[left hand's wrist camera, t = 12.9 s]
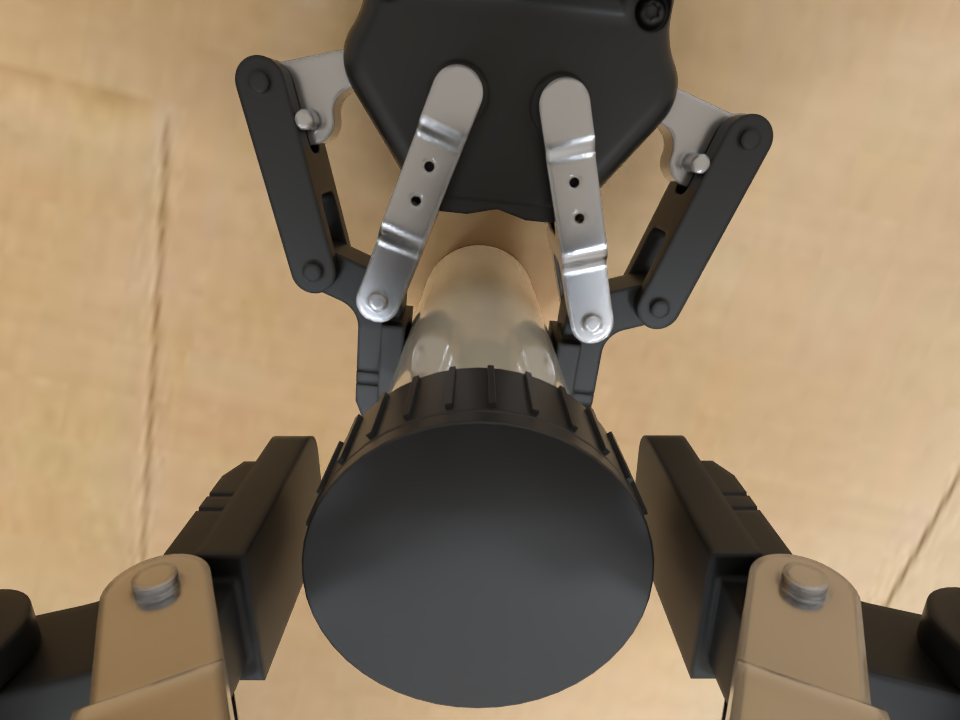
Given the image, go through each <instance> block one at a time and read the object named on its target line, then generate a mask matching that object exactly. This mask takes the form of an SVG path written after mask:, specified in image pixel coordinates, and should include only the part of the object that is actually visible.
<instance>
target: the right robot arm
mask: <svg viewBox="0 0 960 720" xmlns="http://www.w3.org/2000/svg"><path fill="white" fill-rule="evenodd" d="M673 3H674V0H364V1H363V4H362V7H361V10H360V12H359V15H358V17H357V19H356V21H355V23H354V24H353V26H352V27H351V29H350V31H349V33H348V35H347V38H346V41H345V45H344V49H343V50H338V51H333V52H328V53H323V54H318V55H313V56H309V57H304V58H299V59H294V60H289V61H284V62H279V61H276V60H273V59H270V58H267V57H265V56H261V55H253V56H249V57H247V58H245V59H244V60H243V61H242V62H241V63H240V64H239V66H238V68H237V70H236V74H235V83H236V88H237V91H238V94H239V98H240V101H241V105H242V108H243V111H244V115H245V118H246V122H247V125H248V128H249V132H250V135H251V138H252V142H253V145H254V149H255V152H256V155H257V159H258V162H259V166H260V169H261V172H262V176H263V179H264V183H265V186H266V189H267V193H268V196H269V200H270V203H271V206H272V210H273V213H274V217H275V220H276V223H277V227H278V230H279V233H280V237H281V240H282V244H283V247H284V250H285V254H286V257H287V261H288V264H289V267H290V271H291V274H292V277H293V280H294V281H295V283H296V284H297V285H298V286H299V287H300V288H301V289H303V290H304V291H307V292H310V293H321V292H323V293H325V294H328V295H330V296H332V297H334V298H336V299H338V300H341V301H343V302H344V303H346V304H347V305H348V306H349V307H350V308H351V309H352V310H353V311H354V313H355V315H356V317H357V320H358V352H357V379H356V381H357V383H356V402H357V405H358V408H359V410H360V413H361V415H362V416H363V415H364V414H365V413H366V412H367V411H368V410H369V409H370V408H371V407H372V406H373V405H374V404H376V403H377V402H378V401H379V398H380V396H381V394H382V393H384V392H387V393H388V391H389V388H390V385H391V382H392V379H393V376H394V373H395V371H396V368H397V365H398V362H399V359H400V356H401V354H402V351H403V348H404V345H405V342H406V339H407V336H408V334H409V331H410V328H411V325H412V315H413V306H406V301H407V290H408V288H409V285H410V283H411V280H412V278H413V275H414V273H415V270H416V268H417V265H418V263H419V260H420V258H421V255H422V253H423V250H424V248H425V245H426V243H427V240H428V238H429V236H430V233H431V231H432V228H433V226H434V224H435V221H436V219H437V216H438V214H439V211H446V212H455V213H464V214H468V213H475V212H481V211H487V210H493V209H498V210H501V211H504V212H506V213H509V214H512V215H514V216H517V217H519V218H522V219H524V220H530V221H539V222H546V228H547V234H548V240H549V244H550V248H551V252H552V257H553V263H554V269H555V276H556V282H557V288H558V294H559V300H560V308H559V315H558V321H550V323H549V329H548V332H549V335H550V338H551V341H552V344H553V347H554V350H555V353H556V356H557V359H558V361H559V364H560V367H561V370H562V373H563V376H564V379H565V382H566V385H567V388H568V391H569V393H570V396H572V397H573V398H575V399H576V400H577V401H578V402H579V403H581V404H582V405H583V406H584V407H585V408H587V407H588V406H590V407H591V405H592V402H593V396H594V391H595V385H596V380H597V375H598V369H599V364H600V359H601V353H602V349H603V347H604V345H605V343H606V341H607V340H608V339H609V338H610V337H611V336H612V335H614V334H615V333H617V332H619V331H622V330H625V329H630V328H634V327H638V326H643V325H645V326H647V327H649V328H652V329H661V328H665V327H667V326H669V325H671V324H672V323H673V322H674V321H675V320H676V319H677V317H678V316H679V314H680V312H681V310H682V308H683V307H684V305H685V303H686V301H687V299H688V297H689V296H690V294H691V292H692V290H693V288H694V286H695V285H696V283H697V281H698V279H699V277H700V275H701V274H702V272H703V270H704V268H705V266H706V264H707V263H708V261H709V259H710V257H711V255H712V253H713V252H714V250H715V248H716V246H717V244H718V242H719V241H720V239H721V237H722V235H723V233H724V231H725V230H726V228H727V226H728V224H729V222H730V220H731V219H732V217H733V215H734V213H735V211H736V209H737V208H738V206H739V204H740V202H741V200H742V198H743V197H744V195H745V193H746V191H747V189H748V187H749V186H750V184H751V182H752V180H753V178H754V176H755V175H756V173H757V171H758V169H759V167H760V165H761V164H762V162H763V160H764V158H765V156H766V154H767V153H768V151H769V149H770V147H771V144H772V141H773V130H772V127H771V125H770V123H769V121H768V120H767V119H766V118H764V117H763V116H761V115H757V114H742V113H739V114H731V113H729V112H726V111H724V110H722V109H720V108H718V107H716V106H714V105H712V104H709V103H707V102H705V101H703V100H701V99H699V98H697V97H695V96H692V95H690V94H688V93H686V92H684V91H682V90H680V89H678V88H677V86H678V79H677V71H676V67H675V64H674V61H673V58H672V54H671V49H670V41H669V25H670V18H671V12H672V8H673ZM353 92H355V93H356V95H357V97H358V98H359V100H360V102H361V103H362V105H363V107H364V108H365V110H366V112H367V113H368V115H369V117H370V118H371V120H372V122H373V123H374V125H375V127H376V129H377V130H378V132H379V134H380V135H381V137H382V139H383V140H384V142H385V144H386V145H387V147H388V149H389V150H390V152H391V154H392V155H393V157H394V159H395V160H396V162H397V164H398V166H399V167H400V169H401V173H400V176H399V178H398V181H397V184H396V186H395V189H394V192H393V194H392V197H391V200H390V202H389V205H388V208H387V210H386V213H385V216H384V219H383V221H382V224H381V227H380V230H379V236H378V239H377V242H376V245H375V248H374V250H373V253H372V256H370V255H368V254H366V253H363V252H361V251H359V250H357V249H355V248H353V247H351V245H350V241H349V237H348V233H347V229H346V225H345V221H344V218H343V214H342V210H341V206H340V202H339V198H338V194H337V190H336V186H335V182H334V178H333V175H332V171H331V167H330V163H329V159H328V155H327V151H326V147H325V144H326V143H329V142H331V141H332V140H334V139H335V138H336V137H337V135H338V134H339V132H340V129H341V107H342V104H343V102H344V100H345V98H346V97H347V96H348V95H349V94H351V93H353ZM656 128H658V129H659V130H660V131H661V133H662V135H663V138H664V150H663V153H662V156H661V160H660V167H661V171H662V173H663V175H664V176H665V178H666V179H668V180H669V181H670V183H669V185H668V187H667V189H666V191H665V193H664V195H663V197H662V199H661V201H660V203H659V205H658V207H657V209H656V211H655V213H654V215H653V217H652V219H651V221H650V223H649V225H648V227H647V229H646V231H645V233H644V235H643V237H642V239H641V241H640V243H639V245H638V247H637V249H636V251H635V253H634V255H633V257H632V259H631V261H630V263H629V265H628V267H627V269H626V271H625V273H624V275H623V276H619V277H615V278H611V279H608V274H607V266H606V259H607V241H606V234H605V226H604V218H603V210H602V203H601V195H600V188H601V187H602V186H603V185H604V184H605V182H606V181H607V180H608V179H609V178H610V177H611V176H612V175H613V174H614V173H615V172H616V171H617V170H618V169H619V167H620V166H621V165H622V164H623V163H624V162H625V161H626V160H627V159H628V158H629V157H630V156H631V155H632V154H633V152H634V151H635V150H636V149H637V148H638V147H639V146H640V145H641V144H642V143H643V142H644V141H645V140H646V139H647V138H648V136H649V135H650V134H651V133H652V132H653V131H654V130H655V129H656Z"/></svg>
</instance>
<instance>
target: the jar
mask: <svg viewBox="0 0 960 720" xmlns="http://www.w3.org/2000/svg"><path fill="white" fill-rule="evenodd" d="M488 365H494V368H496V369H504V370H509V371H514V372H520V373H523V374H524V373H525V371H527V372H531V374H532V377H535V378H538V379H541V380H543V381H545V382H547V383H549V384H551V385H554V386H556V387H559V386H560V385H561V386H563V387H565V389H566V392H567V394H569V395H570V393H569V391H568V388H567V385H566V382H565V379H564V376H563V373H562V370H561V367H560V364H559V361H558V359H557V356H556V353H555V350H554V347H553V344H552V341H551V338H550V335H549V332H548V330H547V327H546V324H545V321H544V318H543V315H542V312H541V309H540V306H539V303H538V300H537V298H536V295H535V292H534V289H533V286H532V283H531V280H530V278H529V276H528V274H527V272H526V270H525V269H524V267H523V266H522V265H521V264H520V263H519V261H517V260H516V259H515V258H514V257H513V256H511V255H510V254H508V253H507V252H505V251H503V250H501V249H498V248H495V247H491V246H485V245H472V246H467V247H463V248H460V249H457V250H455V251H453V252H451V253H449V254H448V255H446V256H445V257H444V258H443V259H441V260H440V261H439V262H438V263H437V265H436V266H435V267H434V269H433V270H432V272H431V273H430V275H429V277H428V280H427V282H426V285H425V288H424V291H423V294H422V297H421V299H420V302H419V305H418V308H417V311H416V314H415V317H414V319H413V322H412V325H411V328H410V331H409V334H408V336H407V339H406V342H405V345H404V348H403V351H402V354H401V356H400V359H399V362H398V365H397V368H396V371H395V373H394V376H393V379H392V382H391V385H390V388H389V391H388V393H387V394H389V393H391V392H392V391H394V390H395V389H397V388H399V387H400V386H403V385H405V384H407V383H409V382H411V381H412V379H413V377H414V376H417V375H419V377H420V378H421V377H424V376H427V375H430V374H434V373H437V372H442V371H447V370H449V367H452V366H456V369H459V368H477V367H481V368H487V366H488Z"/></svg>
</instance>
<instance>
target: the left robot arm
mask: <svg viewBox="0 0 960 720" xmlns="http://www.w3.org/2000/svg"><path fill="white" fill-rule="evenodd" d="M320 483H321V475H320V465H319V456H318V447H317V443H316V440H315V438H314V437H313V436H274V437H272V439H271V440H270V441H269V443H268V444H267V446H266V447H265V449H264V450H263V452H262V453H261V455H260V456H259V458H258V459H257V460H256V462H243V463H241V464H240V465H238V466H237V467H235V468H234V469H232V470H231V471H229V472H228V473H226V474H225V475H223V476H222V477H221V479H220V480H219V481H218V483H217V484H216V485H215V487H214V488H213V489H212V491H211V492H210V496H209V497H206V499H205V500H204V501H203V503H202V504H201V505H200V507H199V511H196V512H195V513H194V515H193V516H192V517H191V519H190V520H189V521H188V523H187V524H186V525H185V527H184V528H183V529H182V531H181V532H180V533H179V535H178V536H177V537H176V539H175V540H174V542H173V543H172V544H171V546H170V547H169V548H168V550H167V551H166V552H165V554H164V555H163V556H159V557H155V558H151V559H148V560H146V561H143V562H141V563H138V564H136V565H134V566H132V567H130V568H129V569H127V570H125V571H124V572H122V573H121V574H120V575H118V576H117V577H116V578H114V579H113V580H112V581H111V582H110V583H109V584H108V586H107V587H106V588H105V590H104V591H103V593H102V595H101V597H100V601H98V602H95V603H91V604H87V605H83V606H78V607H74V608H69V609H65V610H60V611H55V612H51V613H46V614H42V615H37V616H35V613H34V610H33V607H32V604H31V601H30V599H29V597H28V596H27V595H26V594H24V593H22V592H20V591H17V590H11V589H0V720H239V716H238V710H237V705H236V700H235V694H234V691H235V689H236V687H237V685H238V682H239V680H265V679H266V676H267V673H268V671H269V668H270V666H271V663H272V661H273V658H274V656H275V653H276V650H277V648H278V645H279V643H280V640H281V638H282V635H283V633H284V630H285V628H286V625H287V622H288V620H289V617H290V615H291V612H292V610H293V607H294V605H295V602H296V599H297V597H298V594H299V592H300V589H301V587H302V584H303V578H302V552H303V543H304V538H305V535H306V531H307V528H308V526H306V521H307V518H308V516H309V514H310V512H311V509H312V507H313V505H314V503H315V500H316V498H317V496H318V494H319V493H317V492H316V491H317V489H318V487H319V485H320ZM635 484H636V486H637V489H638V491H639V493H640V495H641V498H642V500H643V502H644V505H645V507H646V509H647V513H648V514H646V515H644V517H645V519H646V521H647V524H648V528H649V531H650V535H651V539H652V544H653V553H654V577H653V582H654V584H655V587H656V589H657V592H658V595H659V597H660V600H661V602H662V605H663V608H664V610H665V613H666V615H667V618H668V621H669V623H670V626H671V628H672V631H673V634H674V636H675V639H676V641H677V644H678V647H679V649H680V652H681V654H682V657H683V660H684V662H685V665H686V667H687V670H688V673H689V675H690V678H716V680H717V682H718V684H719V687H720V689H721V691H722V694H723V696H724V698H725V700H724V705H723V710H722V716H721V720H960V588H958V587H947V588H941V589H938V590H935V591H933V592H932V593H931V594H930V595H929V596H928V598H927V601H926V604H925V607H924V610H923V613H922V615H920V614H915V613H911V612H906V611H902V610H897V609H892V608H888V607H883V606H879V605H874V604H870V603H866V602H862V601H860V597H859V595H858V593H857V591H856V590H855V588H854V587H853V586H852V584H851V583H850V582H849V581H848V580H847V579H846V578H844V577H843V576H842V575H840V574H839V573H838V572H836V571H835V570H833V569H831V568H830V567H828V566H826V565H824V564H822V563H819V562H817V561H814V560H812V559H809V558H805V557H801V556H797V555H792V553H791V552H790V551H789V549H788V548H787V546H786V545H785V544H784V542H783V541H782V540H781V538H780V537H779V536H778V534H777V533H776V532H775V530H774V529H773V527H772V526H771V525H770V523H769V522H768V521H767V519H766V518H765V517H764V515H763V514H762V513H761V511H760V510H757V506H756V504H755V503H754V502H753V500H752V499H751V498H750V496H747V494H746V493H747V492H746V491H745V490H744V488H743V487H742V486H741V484H740V483H739V481H738V480H737V479H736V477H735V476H734V475H733V474H731V473H730V472H728V471H727V470H725V469H724V468H722V467H721V466H719V465H718V464H716V463H715V462H713V461H700V459H699V458H698V456H697V455H696V453H695V452H694V450H693V449H692V447H691V446H690V444H689V443H688V441H687V440H686V438H685V437H684V436H643V437H642V439H641V441H640V446H639V454H638V464H637V473H636V483H635Z"/></svg>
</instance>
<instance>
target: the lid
mask: <svg viewBox="0 0 960 720" xmlns="http://www.w3.org/2000/svg"><path fill="white" fill-rule="evenodd" d="M316 492H317V493H319V494H318V496H317V498H316V500H315V503H314V505H313V507H312V509H311V512H310V514H309V516H308V518H307V521H306V526H308V528H307V531H306V535H305V538H304V543H303V552H302V578H303V583H304V588H305V593H306V598H307V600H308V603H309V606H310V608H311V611H312V614H313V616H314V618H315V620H316V621H317V623H318V625H319V627H320V629H321V631H322V632H323V633H324V635H325V636H326V637H327V639H328V640H329V641H330V643H331V644H332V646H333V647H334V648H335V649H336V650H337V651H338V652H339V653H340V654H341V655H342V656H343V657H344V658H345V659H346V660H347V661H348V662H349V663H351V664H352V665H353V666H354V667H356V668H357V669H358V670H359V671H361V672H362V673H363V674H365V675H367V676H368V677H370V678H371V679H373V680H374V681H376V682H378V683H379V684H381V685H384V686H386V687H388V688H390V689H392V690H394V691H396V692H398V693H401V694H404V695H407V696H409V697H412V698H415V699H418V700H422V701H426V702H430V703H434V704H440V705H446V706H453V707H466V708H490V707H503V706H510V705H517V704H522V703H526V702H530V701H534V700H538V699H541V698H544V697H547V696H549V695H552V694H555V693H558V692H560V691H562V690H564V689H566V688H568V687H571V686H573V685H575V684H577V683H578V682H580V681H582V680H583V679H585V678H586V677H588V676H590V675H591V674H593V673H594V672H595V671H597V670H598V669H599V668H600V667H602V666H603V665H604V664H605V663H607V662H608V661H609V660H610V659H611V658H612V657H613V656H614V655H615V654H616V653H617V652H618V651H619V650H620V649H621V648H622V647H623V645H624V644H625V643H626V641H627V640H628V639H629V637H630V636H631V635H632V634H633V632H634V630H635V629H636V627H637V625H638V623H639V621H640V620H641V618H642V616H643V614H644V611H645V608H646V606H647V603H648V600H649V597H650V593H651V588H652V583H653V577H654V553H653V544H652V539H651V535H650V531H649V528H648V524H647V521H646V519H645V517H644V515H646V514H648V513H647V509H646V507H645V505H644V502H643V500H642V498H641V495H640V493H639V491H638V489H637V486H636V484H635V482H634V480H633V477H632V475H631V473H630V471H629V468H628V466H627V464H626V462H625V460H624V457H623V455H622V453H621V451H620V448H619V446H618V444H617V442H616V439H615V437H614V435H613V433H612V432H609V433H606V431H605V430H604V428H603V427H602V425H601V424H600V423H599V421H598V420H597V418H596V415H595V413H594V410H593V409H592V408H591V407H590V406H588V407H587V408H585V407H584V406H583V405H582V404H581V403H579V402H578V401H577V400H576V399H575V398H573V397H572V396H570V395H569V394H567V392H566V389H565V387H563V386H561V385H560V386H559V387H556V386H554V385H551V384H549V383H547V382H545V381H543V380H541V379H538V378H535V377H532V374H531V372H527V371H525V373H524V374H523V373H520V372H514V371H509V370H504V369H496V368H494V365H488V366H487V368H481V367H477V368H459V369H456V366H452V367H449V370H447V371H442V372H437V373H434V374H430V375H427V376H424V377H421V378H420V377H419V375H417V376H414V377H413V379H412V381H411V382H409V383H407V384H405V385H403V386H400V387H399V388H397V389H395V390H394V391H392V392H391V393H389V394H387V392H384V393H382V394H381V396H380V398H379V401H378V402H377V403H376V404H374V405H373V406H372V407H371V408H370V409H369V410H368V411H367V412H366V413H365V414H364V415H363V416H361V415H360V414H358V415H357V417H356V418H355V420H354V422H353V424H352V427H351V429H350V431H349V434H348V436H347V438H346V440H345V442H344V443H343V442H341V441H339V443H338V445H337V447H336V449H335V452H334V454H333V456H332V458H331V460H330V463H329V465H328V467H327V469H326V471H325V474H324V476H323V478H322V480H321V483H320V485H319V487H318V489H317V491H316Z"/></svg>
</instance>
